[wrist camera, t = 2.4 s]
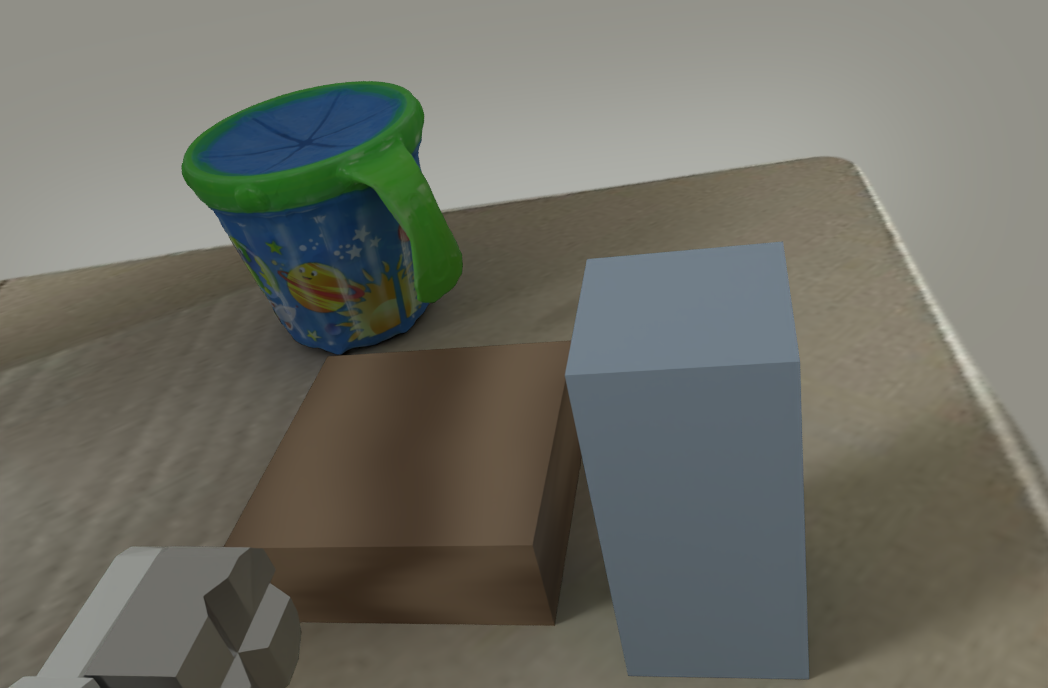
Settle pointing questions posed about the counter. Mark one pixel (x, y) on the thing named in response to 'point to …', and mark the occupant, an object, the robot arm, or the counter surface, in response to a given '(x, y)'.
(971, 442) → the counter surface
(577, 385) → the pillar
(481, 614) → the walnut base
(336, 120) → the snack cup
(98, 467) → the counter surface
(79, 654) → the robot arm
